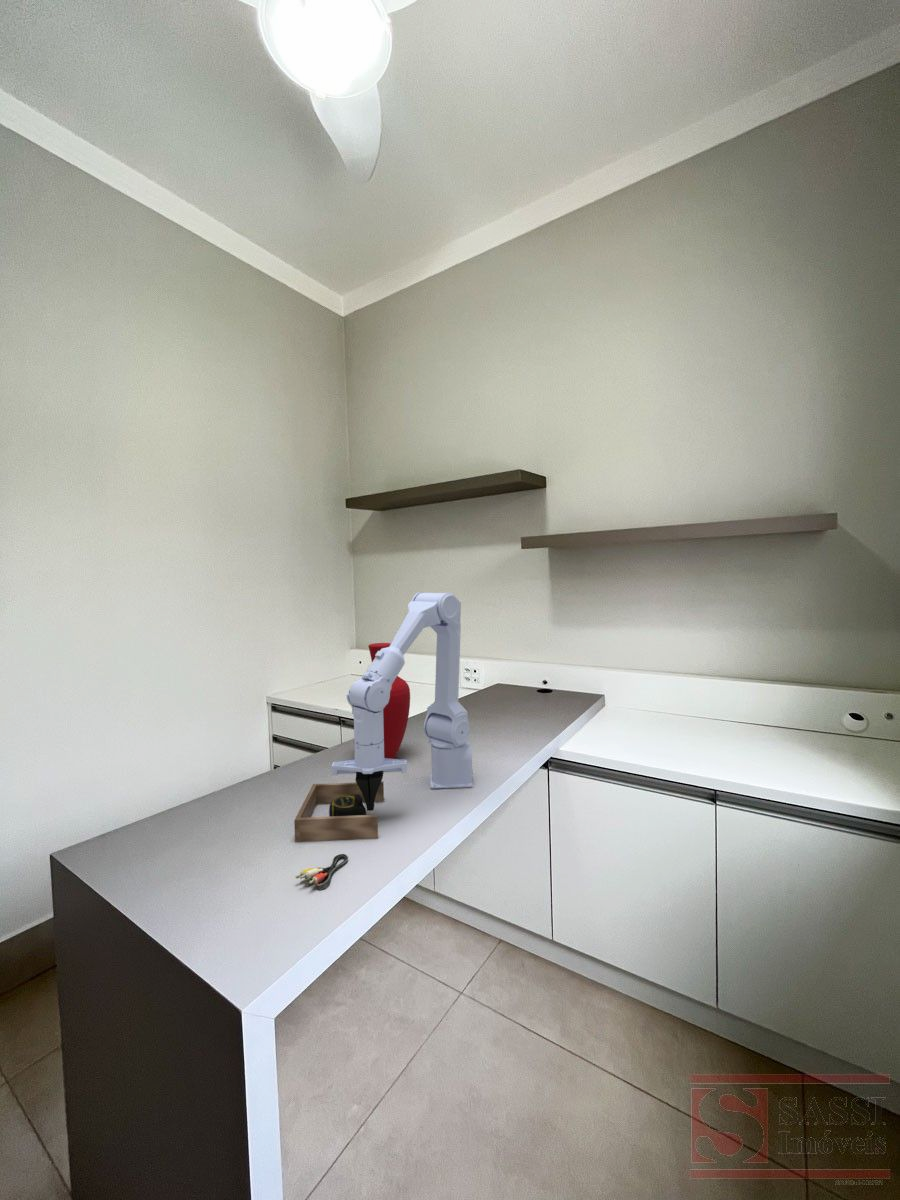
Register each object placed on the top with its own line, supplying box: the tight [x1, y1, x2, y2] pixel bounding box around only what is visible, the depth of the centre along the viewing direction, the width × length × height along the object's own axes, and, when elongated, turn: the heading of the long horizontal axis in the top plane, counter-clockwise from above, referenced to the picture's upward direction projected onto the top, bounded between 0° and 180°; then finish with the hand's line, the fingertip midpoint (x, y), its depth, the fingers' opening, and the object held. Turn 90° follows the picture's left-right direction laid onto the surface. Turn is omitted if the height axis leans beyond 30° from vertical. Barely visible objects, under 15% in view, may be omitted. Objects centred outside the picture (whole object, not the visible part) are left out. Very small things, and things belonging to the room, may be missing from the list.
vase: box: [368, 642, 411, 759], centre depth 130 cm, size 15×15×30 cm
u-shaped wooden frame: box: [293, 780, 385, 843], centre depth 98 cm, size 15×16×4 cm
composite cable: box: [295, 853, 349, 891], centre depth 80 cm, size 10×5×2 cm, turn 146°
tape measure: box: [328, 794, 367, 817], centre depth 98 cm, size 7×7×4 cm
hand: (370, 808), depth 98 cm, fingers closed
